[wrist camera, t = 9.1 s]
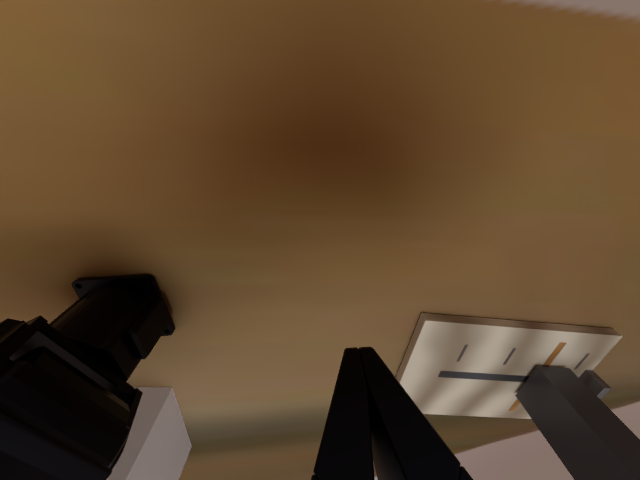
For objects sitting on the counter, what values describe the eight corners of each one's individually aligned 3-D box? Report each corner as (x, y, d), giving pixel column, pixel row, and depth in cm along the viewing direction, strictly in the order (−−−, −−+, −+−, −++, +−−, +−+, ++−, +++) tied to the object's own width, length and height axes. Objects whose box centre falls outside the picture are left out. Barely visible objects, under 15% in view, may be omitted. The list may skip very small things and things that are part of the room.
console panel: (385, 403, 31) (392, 431, 28) (421, 312, 25) (434, 337, 22) (541, 411, 33) (562, 438, 30) (612, 328, 26) (646, 353, 24)
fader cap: (515, 395, 29) (607, 527, 20) (537, 366, 27) (652, 498, 18) (545, 397, 29) (650, 527, 20) (569, 368, 27) (698, 499, 18)
